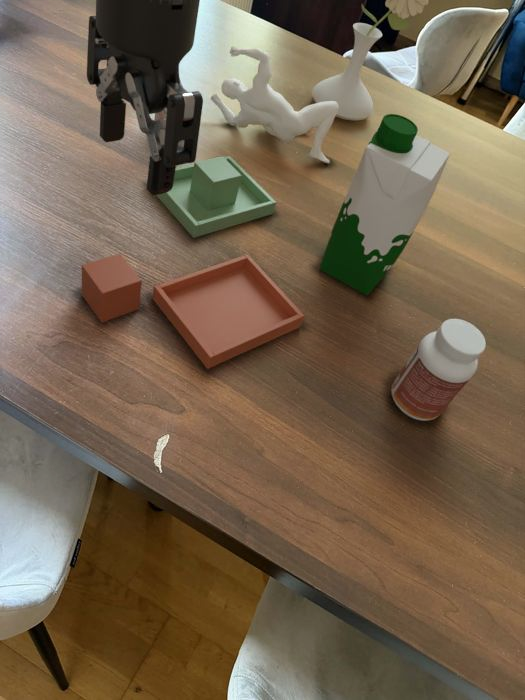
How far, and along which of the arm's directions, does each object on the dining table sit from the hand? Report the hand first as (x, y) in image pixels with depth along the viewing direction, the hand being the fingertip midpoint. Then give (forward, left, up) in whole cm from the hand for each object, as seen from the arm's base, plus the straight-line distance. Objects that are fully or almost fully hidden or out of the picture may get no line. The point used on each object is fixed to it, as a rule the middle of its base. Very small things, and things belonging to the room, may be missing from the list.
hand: (134, 164), depth 54 cm
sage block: (+18, +9, -15) cm, 25 cm away
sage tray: (+18, +9, -16) cm, 25 cm away
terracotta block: (-3, -2, -16) cm, 16 cm away
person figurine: (+36, +18, -16) cm, 43 cm away
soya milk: (+28, -10, -16) cm, 34 cm away
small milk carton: (+20, +23, -16) cm, 34 cm away
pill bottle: (+20, -29, -16) cm, 39 cm away
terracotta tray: (+8, -9, -16) cm, 20 cm away
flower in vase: (+56, +22, -16) cm, 62 cm away
